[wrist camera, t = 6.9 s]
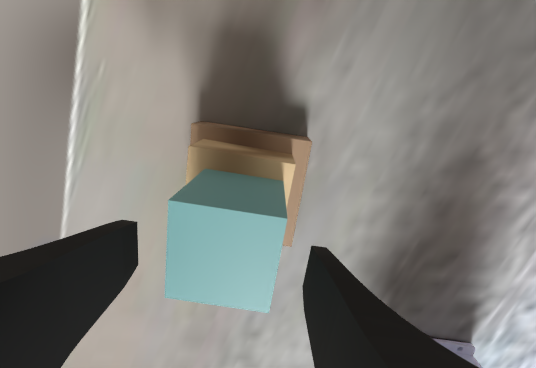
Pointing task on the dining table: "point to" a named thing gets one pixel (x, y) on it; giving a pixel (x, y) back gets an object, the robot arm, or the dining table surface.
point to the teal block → (225, 240)
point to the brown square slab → (266, 141)
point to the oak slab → (240, 162)
